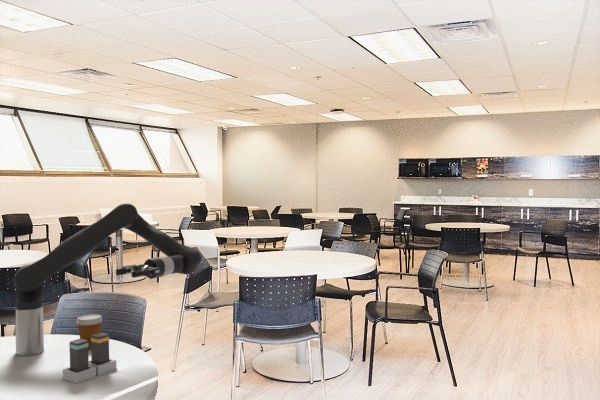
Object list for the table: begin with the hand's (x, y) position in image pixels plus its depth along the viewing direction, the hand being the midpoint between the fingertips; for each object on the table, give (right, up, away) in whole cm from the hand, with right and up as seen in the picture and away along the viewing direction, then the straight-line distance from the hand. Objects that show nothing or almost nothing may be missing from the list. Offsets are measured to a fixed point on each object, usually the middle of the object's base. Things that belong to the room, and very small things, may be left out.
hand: (124, 273), depth 190 cm
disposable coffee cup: (-20, -32, +19) cm, 42 cm away
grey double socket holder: (-7, -33, -13) cm, 36 cm away
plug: (-5, -31, -10) cm, 33 cm away
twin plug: (-9, -32, -17) cm, 37 cm away
